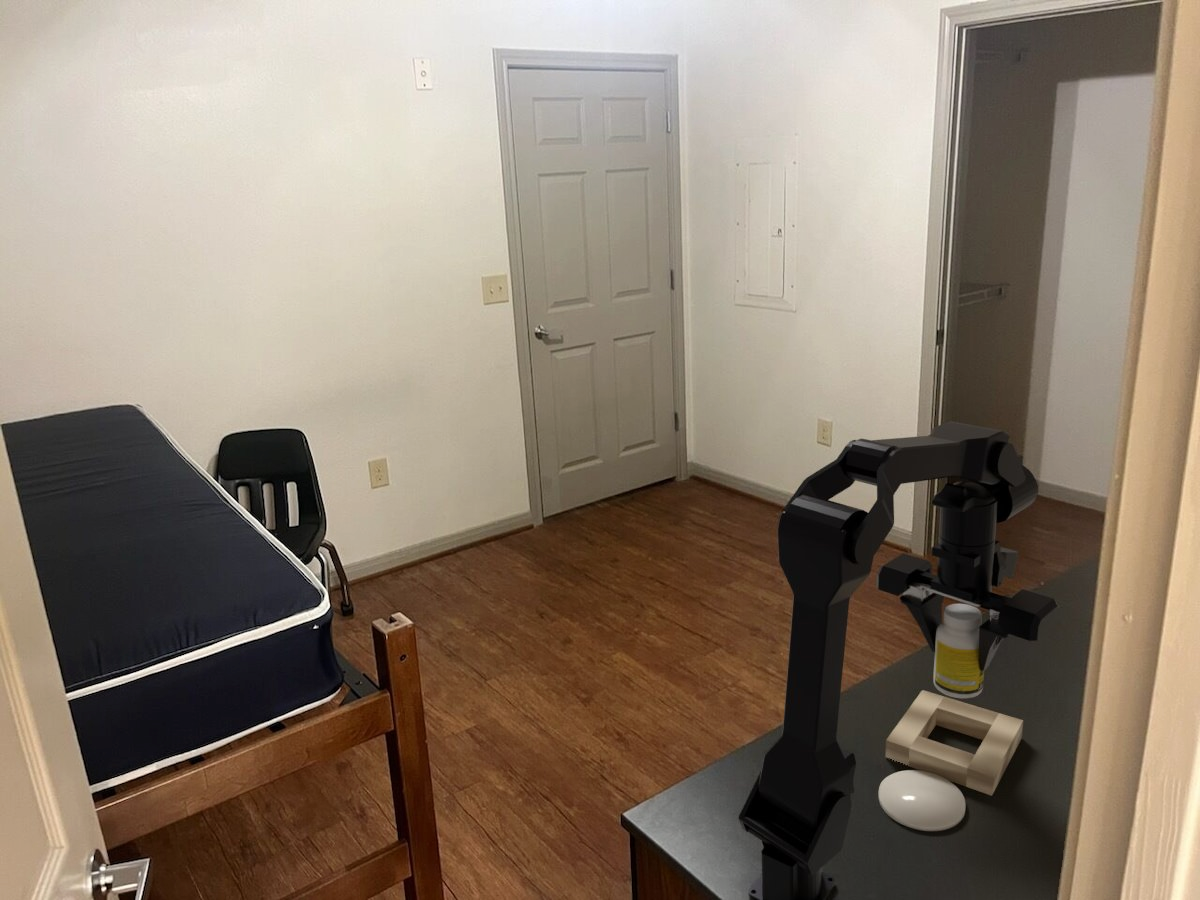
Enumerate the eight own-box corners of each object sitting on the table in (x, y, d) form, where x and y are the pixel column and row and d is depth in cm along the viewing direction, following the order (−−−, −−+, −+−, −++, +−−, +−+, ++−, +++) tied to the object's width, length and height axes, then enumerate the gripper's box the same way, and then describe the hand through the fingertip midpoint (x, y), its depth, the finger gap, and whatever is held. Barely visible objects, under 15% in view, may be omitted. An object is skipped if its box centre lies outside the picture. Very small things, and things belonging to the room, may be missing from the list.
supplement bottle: (987, 701, 101) (993, 624, 98) (936, 699, 102) (940, 623, 99) (978, 674, 106) (983, 600, 103) (930, 672, 107) (933, 599, 104)
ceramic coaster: (949, 843, 93) (949, 838, 93) (865, 810, 98) (865, 805, 98) (976, 793, 100) (976, 788, 99) (896, 764, 105) (896, 760, 105)
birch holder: (991, 795, 99) (993, 777, 98) (885, 757, 106) (886, 740, 106) (1021, 738, 108) (1023, 720, 107) (921, 706, 115) (922, 689, 114)
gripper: (1087, 534, 96) (1073, 660, 101) (926, 494, 110) (921, 608, 115) (1041, 570, 90) (1029, 704, 95) (875, 523, 103) (872, 642, 108)
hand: (959, 660), depth 103 cm, fingers closed on supplement bottle, 5 cm apart
